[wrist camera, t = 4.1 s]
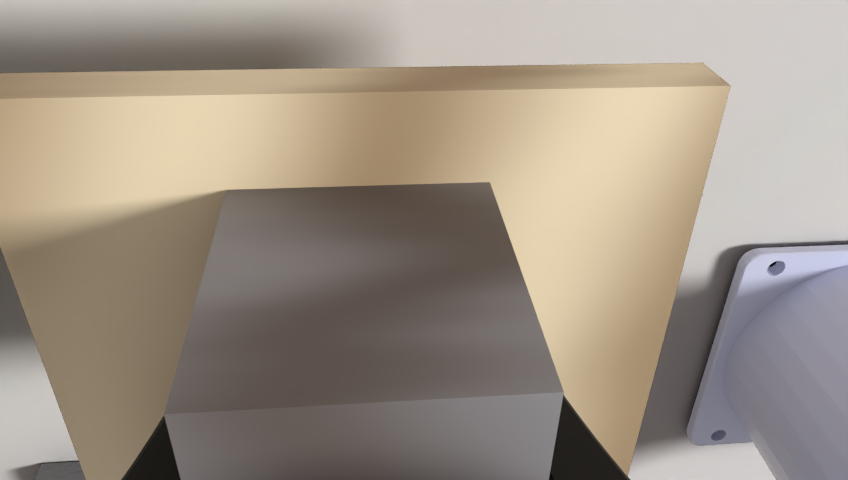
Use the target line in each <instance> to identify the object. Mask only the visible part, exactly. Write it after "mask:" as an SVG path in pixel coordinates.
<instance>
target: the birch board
mask: <svg viewBox="0 0 848 480" xmlns="http://www.w3.org/2000/svg"><path fill="white" fill-rule="evenodd" d="M730 87H731V86H730V85H729V84H728V83H727V82H725V81H724V80H723V79H722V78H721V77H719V76H718V75H717V74H716V73H714V72H713V71H712V70H711V69H710V68H708V67H707V66H706V65H705V64H704V63H652V64H584V65H517V66H449V67H381V68H314V69H246V70H178V71H111V72H43V73H0V247H1V250H2V253H3V256H4V258H5V261H6V264H7V266H8V269H9V272H10V275H11V277H12V280H13V283H14V285H15V288H16V291H17V294H18V296H19V299H20V302H21V304H22V307H23V310H24V313H25V315H26V318H27V321H28V324H29V326H30V329H31V332H32V334H33V337H34V340H35V343H36V345H37V348H38V351H39V353H40V356H41V359H42V362H43V364H44V367H45V370H46V372H47V375H48V378H49V381H50V383H51V386H52V389H53V391H54V394H55V397H56V400H57V402H58V405H59V408H60V411H61V413H62V416H63V419H64V421H65V424H66V427H67V430H68V432H69V435H70V438H71V440H72V443H73V446H74V449H75V451H76V454H77V457H78V459H79V462H80V465H81V468H82V470H83V473H84V476H85V479H86V480H121V479H122V478H123V476H124V475H125V474H126V472H127V471H128V469H129V468H130V467H131V465H132V464H133V462H134V461H135V459H136V458H137V456H138V455H139V453H140V452H141V450H142V449H143V447H144V446H145V444H146V442H147V441H148V439H149V438H150V436H151V435H152V433H153V432H154V430H155V429H156V427H157V425H158V424H159V422H160V421H161V419H162V417H163V416H164V417H165V421H166V425H167V428H168V432H169V436H170V440H171V444H172V448H173V452H174V456H175V460H176V463H177V467H178V471H179V475H180V479H181V480H549V475H550V470H551V464H552V458H553V452H554V447H555V441H556V435H557V429H558V424H559V418H560V412H561V406H562V400H563V395H564V396H565V397H566V399H567V400H568V401H569V403H570V404H571V405H572V407H573V408H574V410H575V411H576V412H577V414H578V415H579V416H580V418H581V419H582V420H583V422H584V423H585V424H586V426H587V427H588V428H589V429H590V431H591V432H592V433H593V435H594V436H595V437H596V439H597V440H598V441H599V442H600V444H601V445H602V446H603V447H604V449H605V450H606V451H607V452H608V454H609V455H610V456H611V457H612V458H613V460H614V461H615V462H616V463H617V464H618V466H619V467H620V468H621V469H622V471H623V472H624V473H625V474H626V475H627V476H628V473H629V469H630V465H631V461H632V458H633V454H634V450H635V446H636V442H637V439H638V435H639V431H640V427H641V423H642V420H643V416H644V412H645V408H646V405H647V401H648V397H649V393H650V389H651V386H652V382H653V378H654V374H655V370H656V367H657V363H658V359H659V355H660V352H661V348H662V344H663V340H664V336H665V333H666V329H667V325H668V321H669V318H670V314H671V310H672V306H673V302H674V299H675V295H676V291H677V287H678V283H679V280H680V276H681V272H682V268H683V265H684V261H685V257H686V253H687V249H688V246H689V242H690V238H691V234H692V231H693V227H694V223H695V219H696V215H697V212H698V208H699V204H700V200H701V196H702V193H703V189H704V185H705V181H706V178H707V174H708V170H709V166H710V162H711V159H712V155H713V151H714V147H715V143H716V140H717V136H718V132H719V128H720V125H721V121H722V117H723V113H724V109H725V106H726V102H727V98H728V94H729V91H730Z"/></svg>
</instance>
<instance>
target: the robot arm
mask: <svg viewBox="0 0 848 480" xmlns="http://www.w3.org/2000/svg"><path fill="white" fill-rule="evenodd" d="M776 261H777V263H776V264H775V265H774V266H772V267H769V266H770V265H771V264H772V263H773V262H776ZM768 267H769V268H768ZM686 433H687V435H688V437H689V439H690V441H691V442H692V443H693V444H695V445H715V444H731V443H746V442H753V443H754V444H755V446H756V448H757V449H758V451H759V452H760V454H761V456H762V457H763V459H764V461H765V462H766V464H767V465H768V467H769V469H770V470H771V472H772V474H773V475H774V477H775V478H776V480H848V245H824V246H798V247H773V248H757V249H752V250H750V251H748V252H746V253H745V254H744V255H743V256H742V257H741V258H740V260H739V262H738V264H737V267H736V271H735V274H734V277H733V280H732V284H731V287H730V290H729V293H728V297H727V300H726V303H725V306H724V310H723V313H722V316H721V319H720V323H719V326H718V329H717V332H716V336H715V339H714V342H713V345H712V348H711V352H710V355H709V358H708V361H707V365H706V368H705V371H704V374H703V378H702V381H701V384H700V387H699V391H698V394H697V397H696V400H695V404H694V407H693V410H692V413H691V417H690V420H689V423H688V426H687V430H686ZM121 480H181V479H180V475H179V471H178V467H177V463H176V460H175V456H174V452H173V448H172V444H171V440H170V436H169V432H168V428H167V425H166V421H165V417H164V416H163V417H162V419H161V421H160V422H159V424H158V425H157V427H156V429H155V430H154V432H153V433H152V435H151V436H150V438H149V439H148V441H147V442H146V444H145V446H144V447H143V449H142V450H141V452H140V453H139V455H138V456H137V458H136V459H135V461H134V462H133V464H132V465H131V467H130V468H129V469H128V471H127V472H126V474H125V475H124V476H123V478H122V479H121ZM549 480H630V479H629V478H628V477H627V475H626V474H625V473H624V472H623V471H622V469H621V468H620V467H619V466H618V464H617V463H616V462H615V461H614V460H613V458H612V457H611V456H610V455H609V454H608V452H607V451H606V450H605V449H604V447H603V446H602V445H601V444H600V442H599V441H598V440H597V439H596V437H595V436H594V435H593V433H592V432H591V431H590V429H589V428H588V427H587V426H586V424H585V423H584V422H583V420H582V419H581V418H580V416H579V415H578V414H577V412H576V411H575V410H574V408H573V407H572V405H571V404H570V403H569V401H568V400H567V399H566V397H565V396H564V395H563V400H562V406H561V412H560V418H559V424H558V429H557V435H556V441H555V447H554V452H553V458H552V464H551V470H550V475H549Z"/></svg>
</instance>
